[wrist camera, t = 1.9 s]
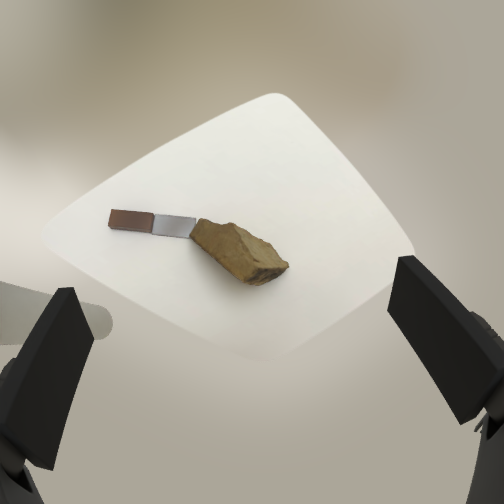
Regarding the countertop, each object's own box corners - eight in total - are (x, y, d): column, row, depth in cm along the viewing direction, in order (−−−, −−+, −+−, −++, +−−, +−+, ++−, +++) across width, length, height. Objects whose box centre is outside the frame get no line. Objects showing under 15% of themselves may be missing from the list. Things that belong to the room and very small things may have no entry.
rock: (159, 232, 32) (204, 317, 30) (196, 175, 27) (255, 273, 24) (231, 220, 40) (272, 287, 38) (271, 175, 35) (322, 248, 32)
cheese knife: (110, 230, 34) (107, 227, 33) (114, 211, 35) (111, 207, 34) (193, 238, 35) (192, 235, 34) (195, 218, 36) (195, 215, 35)
